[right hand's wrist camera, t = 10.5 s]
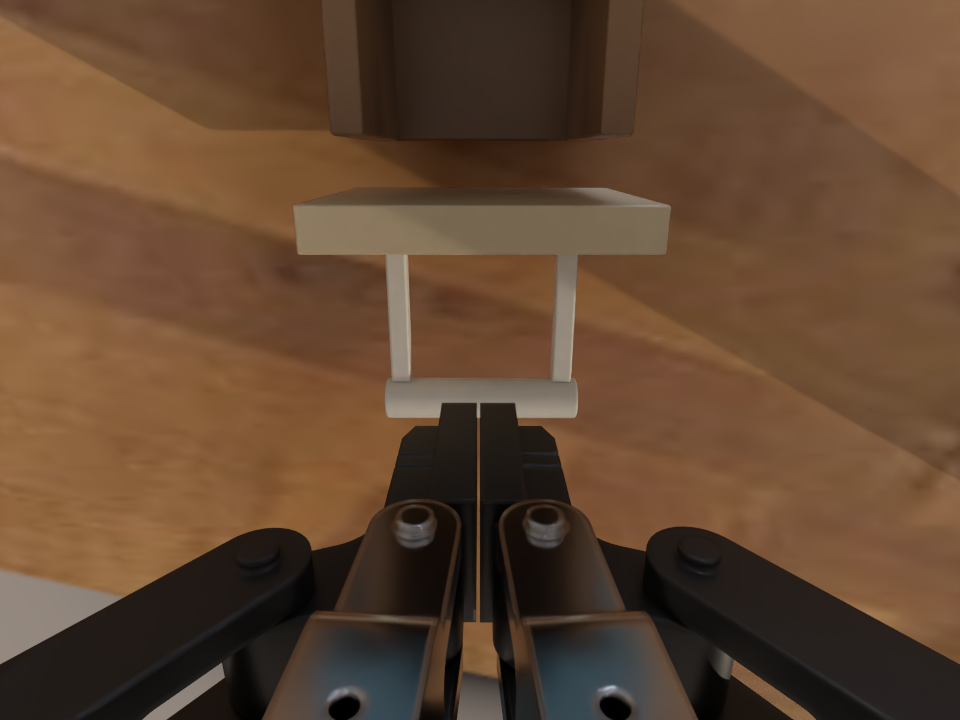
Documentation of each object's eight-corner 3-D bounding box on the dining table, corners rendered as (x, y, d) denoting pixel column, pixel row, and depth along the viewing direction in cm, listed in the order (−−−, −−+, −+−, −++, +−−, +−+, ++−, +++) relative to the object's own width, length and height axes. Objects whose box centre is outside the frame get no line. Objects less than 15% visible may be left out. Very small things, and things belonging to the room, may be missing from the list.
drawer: (594, 364, 24) (644, 458, 16) (367, 364, 24) (317, 457, 16) (650, -436, 16) (792, -928, 9) (314, -437, 16) (175, -927, 9)
